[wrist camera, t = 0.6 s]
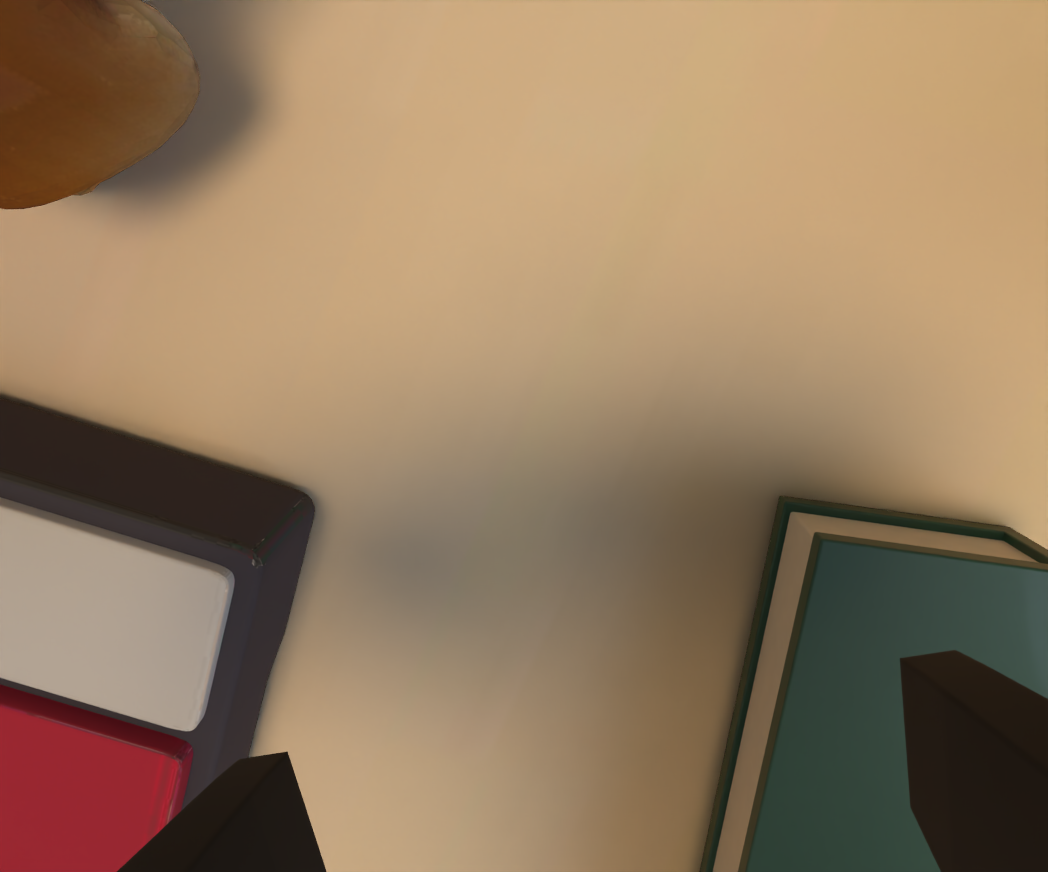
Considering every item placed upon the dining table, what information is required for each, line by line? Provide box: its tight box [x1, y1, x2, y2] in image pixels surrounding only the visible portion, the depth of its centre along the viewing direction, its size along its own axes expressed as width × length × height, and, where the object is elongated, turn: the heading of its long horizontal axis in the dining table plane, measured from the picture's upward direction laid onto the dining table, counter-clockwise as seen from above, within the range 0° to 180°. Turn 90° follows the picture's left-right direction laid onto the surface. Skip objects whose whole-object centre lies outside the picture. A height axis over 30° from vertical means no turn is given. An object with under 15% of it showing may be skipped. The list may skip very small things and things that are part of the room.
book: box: [700, 496, 1048, 872], centre depth 19 cm, size 14×5×3 cm, turn 172°
